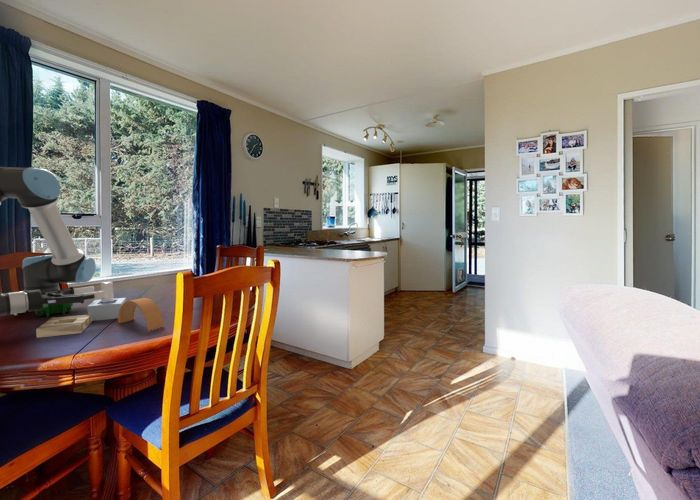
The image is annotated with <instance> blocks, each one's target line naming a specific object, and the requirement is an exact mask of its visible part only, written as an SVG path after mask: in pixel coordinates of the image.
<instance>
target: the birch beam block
mask: <svg viewBox="0 0 700 500" xmlns="http://www.w3.org/2000/svg"><path fill="white" fill-rule="evenodd" d="M92 322H93V321H92V314H90V315H88V314H80V315H70V316H58V317H57V316H56V317H51V318H50V319H48V320H47V321H45V322H44V323H42V324H41V325H40V326H38V327H37V328H35V330H36V331H35V333H36V339H38V338H47V337H55V336H56V337H58V336H65V335H66V336H68V335H74V334H82V333H83V332H84V331H85V330H86V329H87V328H88V327H89V326H90V324H92Z"/></svg>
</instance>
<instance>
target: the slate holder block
mask: <svg viewBox="0 0 700 500" xmlns="http://www.w3.org/2000/svg"><path fill="white" fill-rule="evenodd" d="M113 301H114V303H105V304H102V302H101V299H94V300H92V302H91V303H89V304H88V305H87V315H90V314H92V322H93V321H106V320H115V319H117V320H118V314H119V310H120V308H121V306H122V305H123V304H124V303H125V302H127V297H118V298H113Z"/></svg>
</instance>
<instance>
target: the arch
mask: <svg viewBox="0 0 700 500" xmlns="http://www.w3.org/2000/svg"><path fill="white" fill-rule="evenodd" d="M137 307H138V308H139V309H140V311H141V313H142V314H143V316H144V319H145V323H146V328H147V332H151V331H150V330H152V331H154V329H155V330H158V329H157V328H159V329H161V328H160V327H162V328H164V327H165V325H164V324H165V323H164V319H163V316H162V313H161V311H160V309H159V307H158V305H157V303H155V302H154V301H153V300H152V299H150V298H147V297H143V298H137V299H132V300H126V302H125V303H124V304H123V305H122V306H121V308H120V310H119V314H118V318H117V323H118V324H122V323H127V322H130V321H133V320H135V312H136V308H137ZM163 326H164V327H163Z"/></svg>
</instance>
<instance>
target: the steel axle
mask: <svg viewBox="0 0 700 500" xmlns="http://www.w3.org/2000/svg"><path fill="white" fill-rule="evenodd" d="M113 283H114V282H113V281H103V282H100V284H99V285H100V291H104V296H105V298H101V299H100V300H101V302H102V304H105V303H114V301H113V299H114V286H113V285H114V284H113Z"/></svg>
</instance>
